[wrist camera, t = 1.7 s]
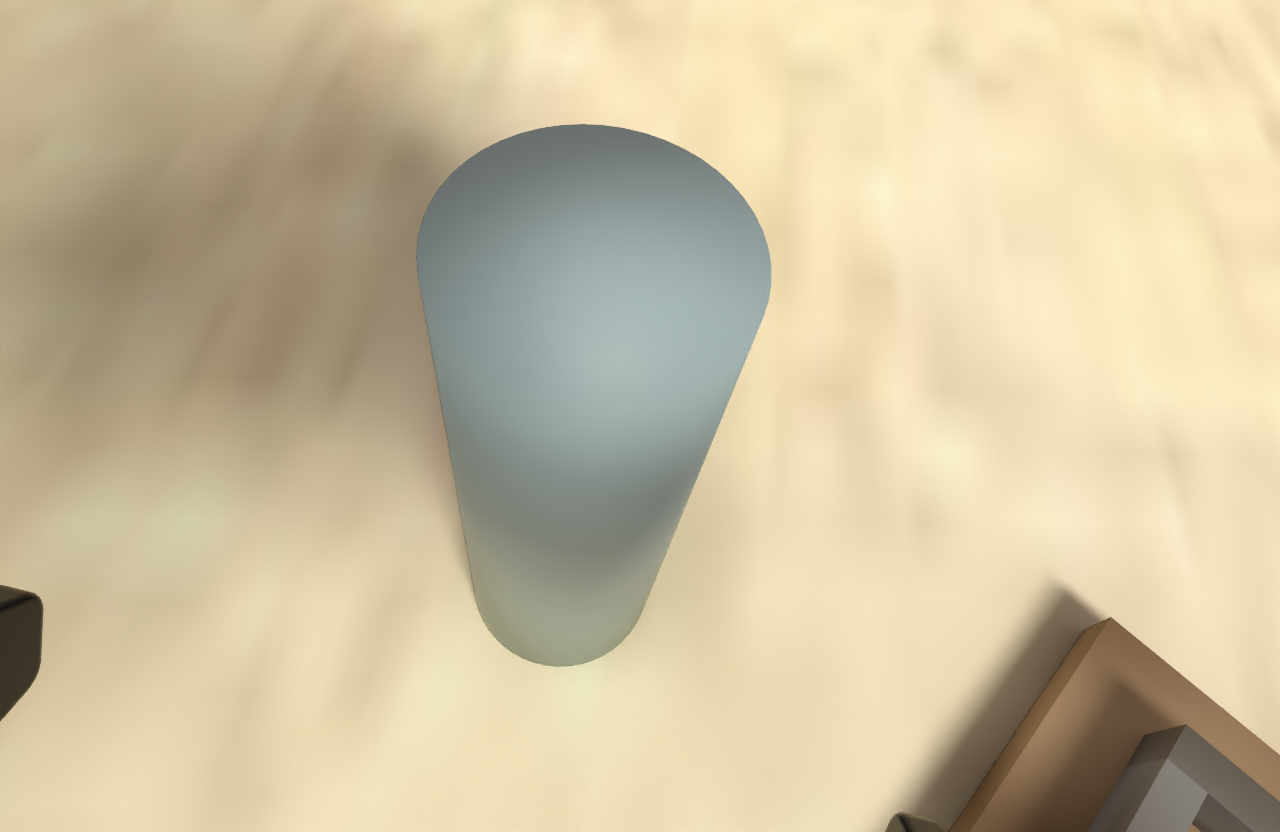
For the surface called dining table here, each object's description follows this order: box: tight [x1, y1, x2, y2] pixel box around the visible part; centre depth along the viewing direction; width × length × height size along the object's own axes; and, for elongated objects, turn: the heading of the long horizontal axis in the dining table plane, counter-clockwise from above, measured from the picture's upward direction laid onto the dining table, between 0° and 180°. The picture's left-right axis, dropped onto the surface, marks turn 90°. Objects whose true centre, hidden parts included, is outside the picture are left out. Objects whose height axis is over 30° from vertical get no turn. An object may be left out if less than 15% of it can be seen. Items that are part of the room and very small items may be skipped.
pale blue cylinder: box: [416, 124, 771, 666], centre depth 16 cm, size 4×4×13 cm
